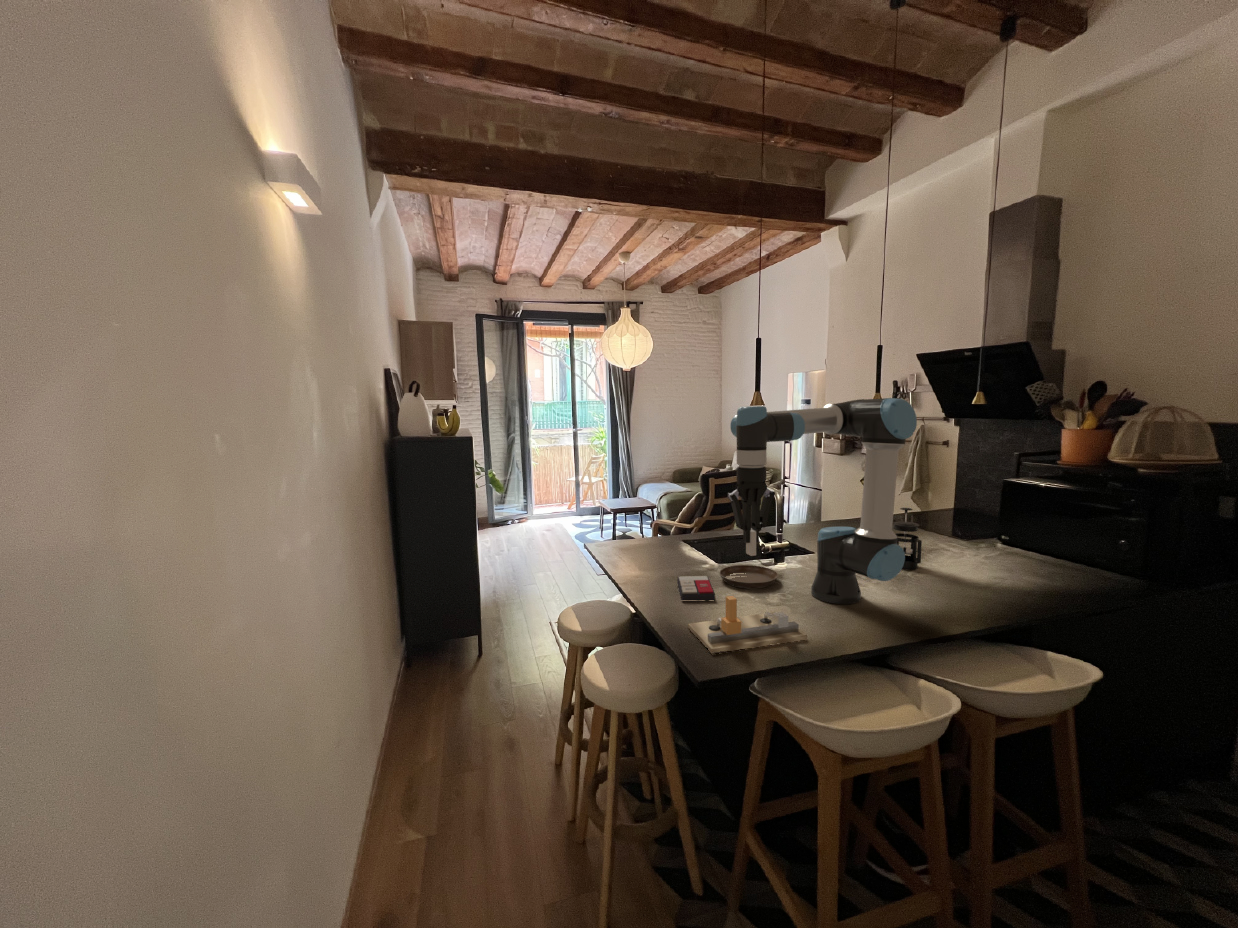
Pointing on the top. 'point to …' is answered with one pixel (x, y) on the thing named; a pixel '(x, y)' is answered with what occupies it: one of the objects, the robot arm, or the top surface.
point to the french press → (910, 561)
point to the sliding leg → (730, 617)
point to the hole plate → (746, 622)
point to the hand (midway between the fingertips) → (751, 554)
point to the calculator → (695, 588)
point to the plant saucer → (749, 576)
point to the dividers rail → (758, 629)
